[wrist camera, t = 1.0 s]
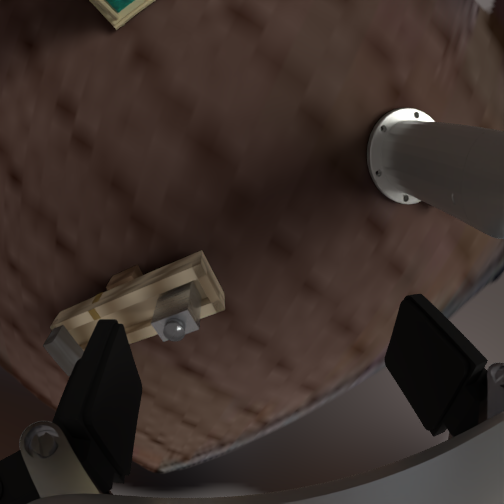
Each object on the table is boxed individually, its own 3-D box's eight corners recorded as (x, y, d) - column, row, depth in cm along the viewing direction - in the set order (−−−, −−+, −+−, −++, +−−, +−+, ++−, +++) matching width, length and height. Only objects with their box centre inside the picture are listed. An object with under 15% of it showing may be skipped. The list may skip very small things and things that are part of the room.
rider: (191, 279, 33) (186, 316, 26) (201, 296, 34) (199, 335, 27) (159, 292, 33) (149, 329, 27) (170, 308, 34) (162, 348, 28)
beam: (201, 236, 36) (196, 275, 27) (225, 284, 39) (228, 332, 30) (65, 297, 38) (36, 340, 28) (92, 335, 40) (71, 381, 31)
